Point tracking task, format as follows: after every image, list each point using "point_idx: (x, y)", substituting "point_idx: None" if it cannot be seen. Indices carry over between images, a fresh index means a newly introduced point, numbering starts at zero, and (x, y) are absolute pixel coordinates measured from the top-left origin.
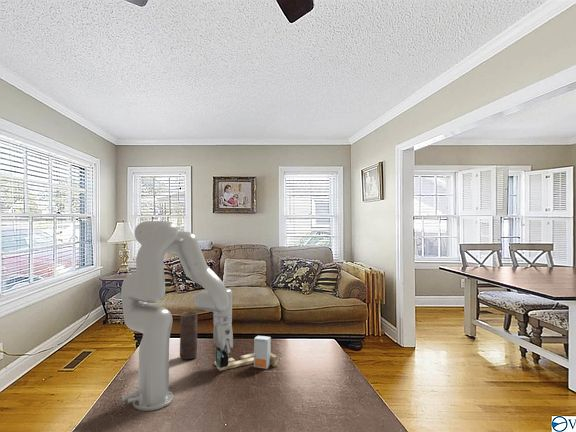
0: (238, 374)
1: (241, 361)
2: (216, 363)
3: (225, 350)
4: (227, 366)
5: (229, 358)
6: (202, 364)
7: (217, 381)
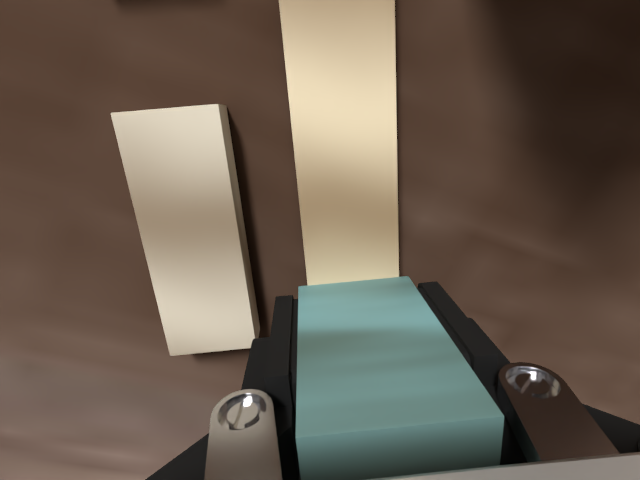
0: (573, 190)
1: (339, 35)
2: (240, 347)
3: (413, 433)
4: (396, 268)
5: (133, 158)
6: (141, 429)
7: (580, 401)
